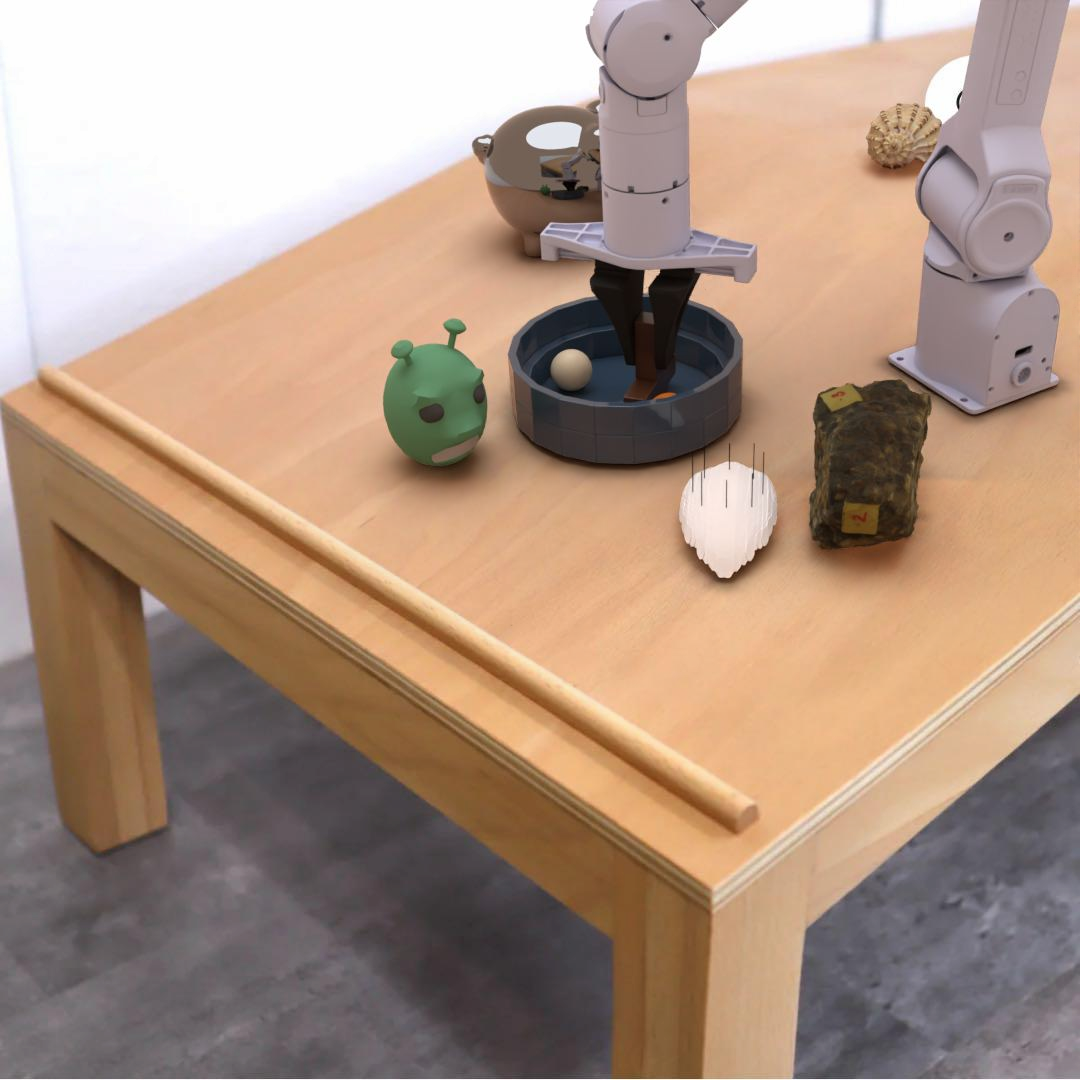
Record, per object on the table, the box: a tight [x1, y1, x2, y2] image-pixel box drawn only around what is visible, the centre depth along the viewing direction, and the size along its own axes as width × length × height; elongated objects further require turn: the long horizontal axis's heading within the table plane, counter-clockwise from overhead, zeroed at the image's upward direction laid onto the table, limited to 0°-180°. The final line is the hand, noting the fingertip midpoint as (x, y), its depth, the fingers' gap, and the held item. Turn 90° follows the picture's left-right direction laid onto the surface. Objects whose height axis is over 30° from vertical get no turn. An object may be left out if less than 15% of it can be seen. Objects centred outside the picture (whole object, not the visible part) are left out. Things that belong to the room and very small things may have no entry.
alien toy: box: [382, 318, 488, 467], centre depth 107 cm, size 7×8×10 cm
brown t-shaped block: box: [623, 312, 676, 403], centre depth 110 cm, size 7×2×6 cm, turn 159°
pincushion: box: [678, 442, 778, 579], centre depth 99 cm, size 12×6×6 cm, turn 172°
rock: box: [808, 378, 933, 551], centre depth 99 cm, size 12×9×8 cm
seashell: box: [865, 102, 943, 171], centre depth 145 cm, size 8×6×10 cm
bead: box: [551, 349, 592, 391], centre depth 114 cm, size 3×3×3 cm
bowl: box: [507, 292, 744, 465], centre depth 112 cm, size 16×16×5 cm
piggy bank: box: [471, 98, 603, 258], centre depth 134 cm, size 11×15×12 cm
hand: (650, 360), depth 111 cm, fingers closed on brown t-shaped block, 1 cm apart
